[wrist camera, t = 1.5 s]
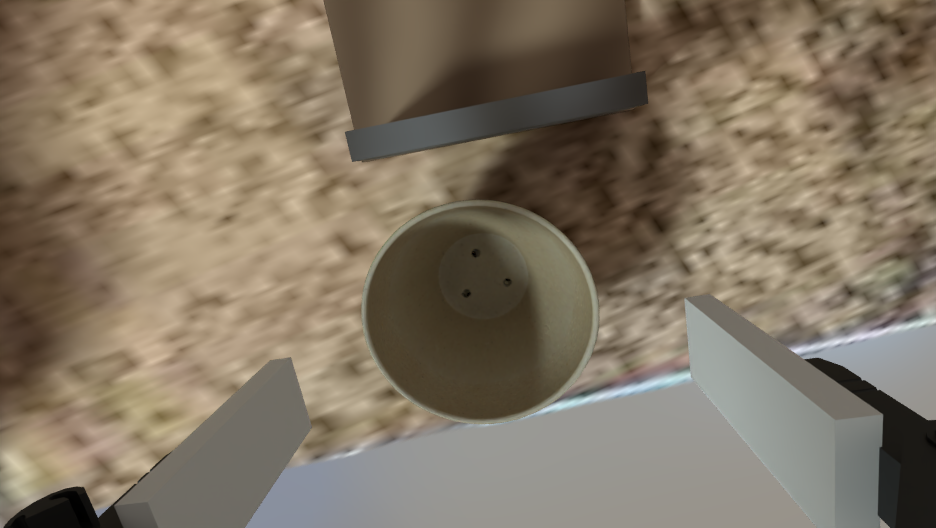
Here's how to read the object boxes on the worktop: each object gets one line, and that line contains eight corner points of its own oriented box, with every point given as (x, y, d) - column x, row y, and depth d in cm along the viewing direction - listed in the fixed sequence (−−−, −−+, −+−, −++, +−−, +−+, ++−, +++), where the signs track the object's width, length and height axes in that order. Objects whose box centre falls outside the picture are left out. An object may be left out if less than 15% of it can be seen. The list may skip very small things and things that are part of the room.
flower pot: (519, 151, 24) (531, 153, 17) (600, 309, 26) (639, 367, 19) (362, 239, 26) (314, 272, 19) (448, 381, 28) (434, 458, 21)
